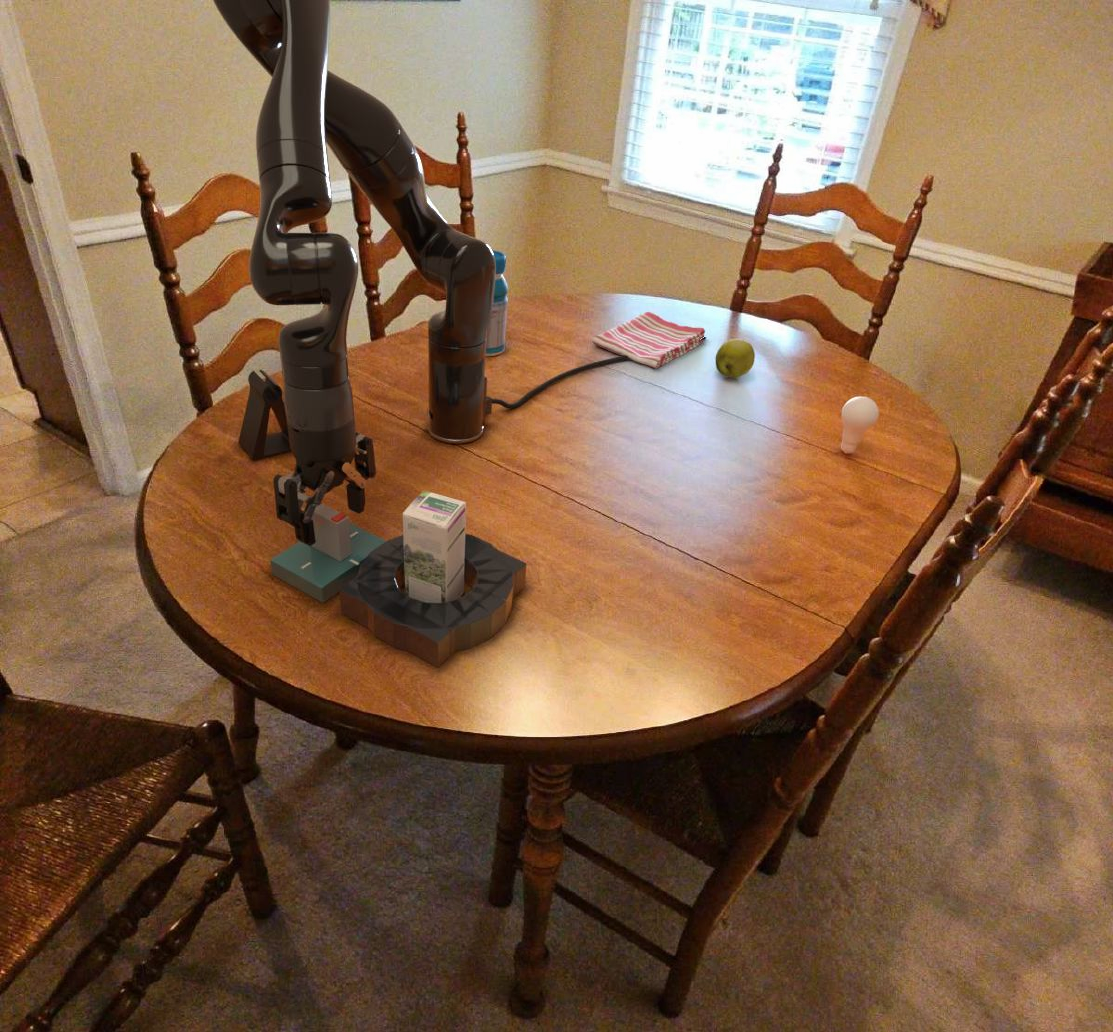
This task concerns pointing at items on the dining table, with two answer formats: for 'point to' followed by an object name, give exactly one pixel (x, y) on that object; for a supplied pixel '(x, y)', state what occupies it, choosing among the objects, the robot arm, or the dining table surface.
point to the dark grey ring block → (433, 624)
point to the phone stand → (263, 419)
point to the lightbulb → (857, 421)
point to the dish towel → (650, 339)
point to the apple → (735, 358)
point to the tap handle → (332, 532)
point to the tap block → (323, 565)
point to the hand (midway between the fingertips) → (332, 526)
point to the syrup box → (434, 548)
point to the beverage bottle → (498, 310)
